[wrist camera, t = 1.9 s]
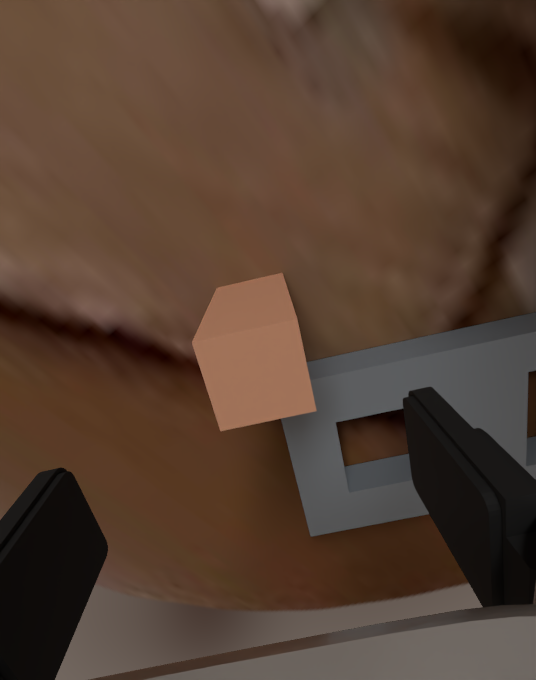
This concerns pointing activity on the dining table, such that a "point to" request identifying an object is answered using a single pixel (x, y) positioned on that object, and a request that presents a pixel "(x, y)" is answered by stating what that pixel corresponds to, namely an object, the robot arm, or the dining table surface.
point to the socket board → (387, 395)
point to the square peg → (253, 354)
